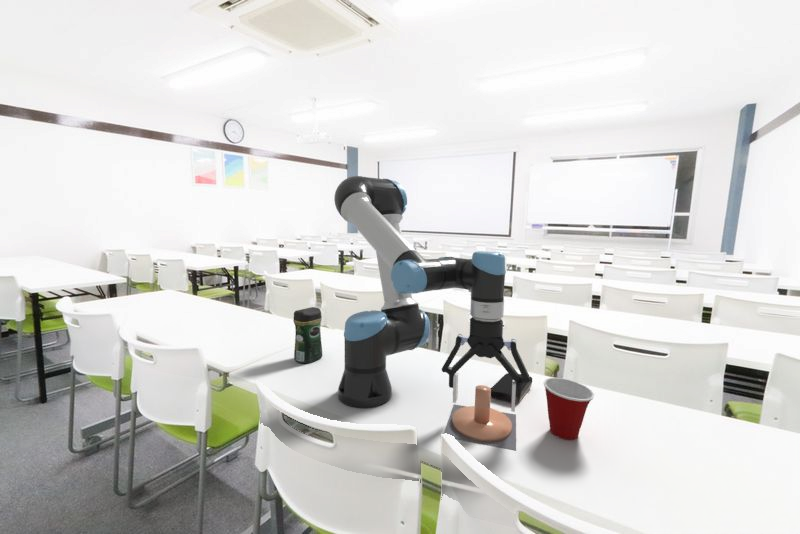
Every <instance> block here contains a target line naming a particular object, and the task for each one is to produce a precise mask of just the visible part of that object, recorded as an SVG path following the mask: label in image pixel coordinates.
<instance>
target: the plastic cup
mask: <svg viewBox="0 0 800 534" xmlns="http://www.w3.org/2000/svg"><path fill="white" fill-rule="evenodd" d="M543 386H544V390H545V396H546V403H547V405H546V406H547V407H546V408H547V414H548V416H547V417H548V421H549V430H550V432H551V434H552V435H554V436H555V437H557V438H559V439H563V440H565V441H566V440H568V441H571V440H572V441H573V440H576V439H578V437H579V436H580V435H579V434H580V430H581V427H582V425H583V422H584V418H585V414H586V411H587V409H588V406H589V404H590V402H591V401H592V400H594V397H595V393H594V392H593V390H592V389H590V387H587V386H586V385H584V384H582V383H579V382H577V381H574V380H571V379H567V378H562V377H548V378H546V379H544V381H543Z"/></svg>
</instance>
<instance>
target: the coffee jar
mask: <svg viewBox="0 0 800 534" xmlns="http://www.w3.org/2000/svg"><path fill="white" fill-rule="evenodd" d="M322 316H323V315H322V312H321V309H320V308H319V307H313V306H311V307H307V308H302V309H298V310H295V311H294V312H293V321H292V322H293V323H294V326H295V327H294V328H295V336H294V337H295V341H294V350H293V351H294V353H293V358H294V360H295V362H297V363H300V364H309V363H312V362H315V361H318V360H320V359H321V358H322V357H323V347H322V346H323V345H322V337H321V336H322V335H321V333H322V332H321V324H322V323H321V322H322V319H323V318H322Z"/></svg>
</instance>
